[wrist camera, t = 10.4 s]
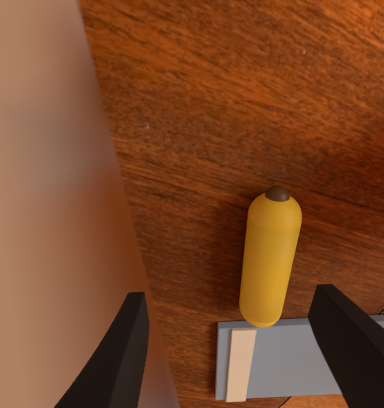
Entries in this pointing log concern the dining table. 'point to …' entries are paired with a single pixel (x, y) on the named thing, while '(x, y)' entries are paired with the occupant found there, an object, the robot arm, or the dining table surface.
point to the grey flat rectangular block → (271, 361)
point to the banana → (268, 255)
